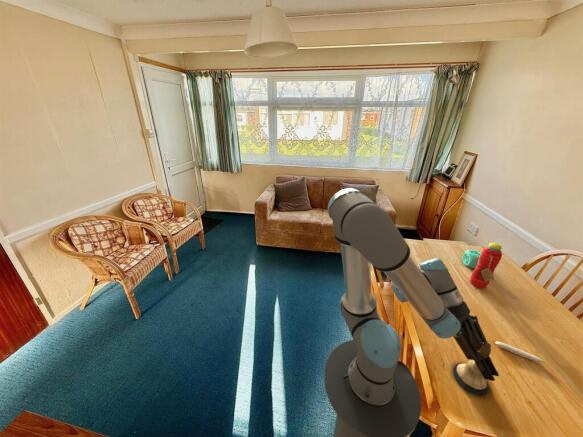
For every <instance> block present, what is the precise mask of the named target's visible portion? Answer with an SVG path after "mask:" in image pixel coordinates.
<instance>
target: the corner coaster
mask: <svg viewBox="0 0 583 437" xmlns="http://www.w3.org/2000/svg"><path fill="white" fill-rule="evenodd" d="M459 364H462V363H457V364H456V363H455V365H454V366H453V367H452V374H453V377H454V379H455V381H456V382H457V383H458V384H459V385H460V386H461V388H463V389H464V390H465V391H467V392H469V393H470V394H473V395H476V396H482V397H483V396H487V394H488V393H489V391H490V385H489V382H488V380H486V382H487V386H486V388H484V389H481V390H479V389H475V388H473V387H471V386H469V385H467V384H466V383H465V382H464V381H463V380H462V379H461V378H460V377H459V375H458V373H457V366H458V365H459Z"/></svg>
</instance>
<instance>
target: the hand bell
mask: <svg viewBox="0 0 583 437" xmlns="http://www.w3.org/2000/svg"><path fill="white" fill-rule="evenodd" d="M478 352H479V354H480V357H481V358H484V359H486V358H487V357H488V356H489V357H490V355H491V352H492V345H491V343H489V342H488V343H486V344H484V345H482V346H481V347H480V349H479V351H478ZM458 364H459V365H458V366H457V373H458V375H459V377H460V378H461V379H462V380H463V381H464V382H465V383H466V384H467V385H469V386H471V387H473V388H475V389H479V390H481V389H484V388H486V386H487V382H488V381H487V382H486V379H484V377H483V375H482V373H481V371H480V370H479V369H478V367H477V365H476V363H475V362H474V360H470V359H469V360H468V361H467V363H461V364H460V363H458Z"/></svg>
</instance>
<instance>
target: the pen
mask: <svg viewBox="0 0 583 437" xmlns="http://www.w3.org/2000/svg"><path fill="white" fill-rule="evenodd" d="M494 344H495V345H496V346H498V347H499V348H501V349H504V350H505V351H507V352H510V353H513V354H516V355H518V356H520V357H523V358H525V359H528V360H531V361H534V362H537V363H546V361H545V360H544V359H542V358H540V357H538V356H536V355H534V354H531V353H529V352H526V351H525V350H522V349H519V348H516V347H514V346H512V345H509V344H507V343H505V342H502V341H495V342H494Z"/></svg>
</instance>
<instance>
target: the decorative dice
mask: <svg viewBox="0 0 583 437" xmlns="http://www.w3.org/2000/svg"><path fill="white" fill-rule="evenodd" d="M481 252H482V251H479V250H475V249H469V250H466V251H465V252H463V254H462V258H461V259H462V260H461V261H462V263H463V264H464V266H466V267H468V268H470V269H473V270H474V269H475V268H476V265H477V263H478V260H479V257H480V254H481Z"/></svg>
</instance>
